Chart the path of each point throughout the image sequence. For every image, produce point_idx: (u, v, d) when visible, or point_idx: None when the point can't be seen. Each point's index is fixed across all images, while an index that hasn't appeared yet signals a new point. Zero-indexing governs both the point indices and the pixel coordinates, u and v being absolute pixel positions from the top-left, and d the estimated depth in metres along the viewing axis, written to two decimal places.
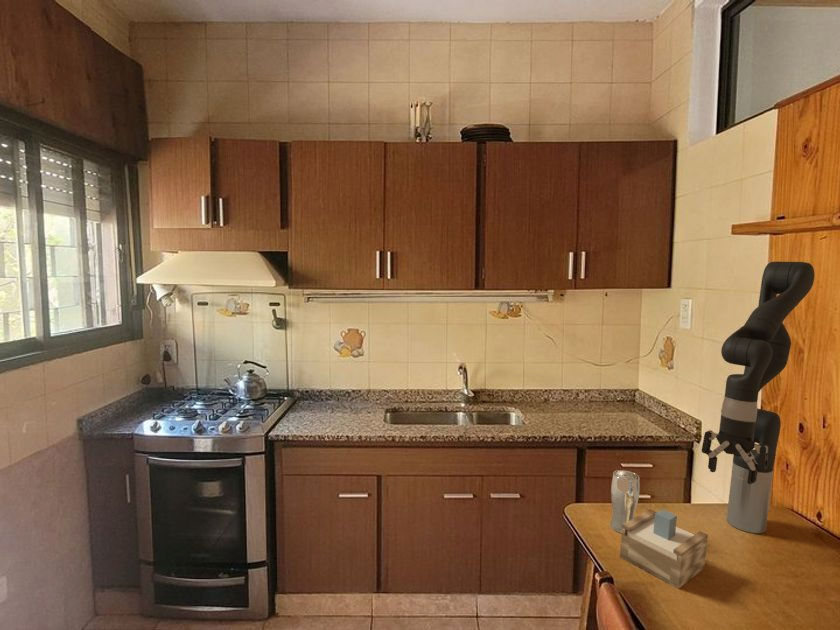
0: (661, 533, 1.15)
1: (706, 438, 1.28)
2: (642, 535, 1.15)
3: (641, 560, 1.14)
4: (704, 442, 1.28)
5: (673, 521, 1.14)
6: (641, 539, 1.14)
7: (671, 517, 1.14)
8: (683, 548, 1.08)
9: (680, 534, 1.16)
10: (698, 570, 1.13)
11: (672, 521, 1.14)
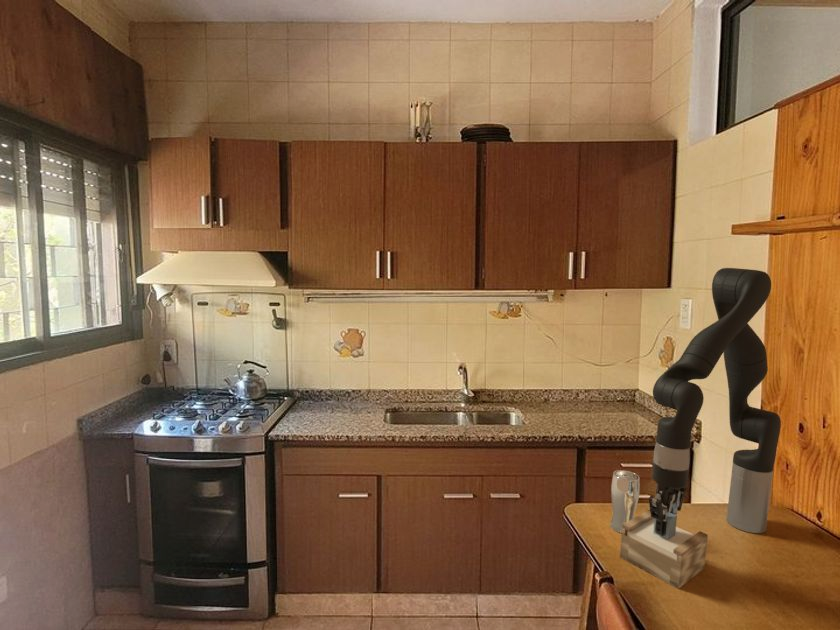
0: None
1: (661, 507, 1.11)
2: (642, 535, 1.15)
3: (641, 560, 1.14)
4: (661, 512, 1.11)
5: (673, 521, 1.14)
6: (641, 539, 1.14)
7: (671, 517, 1.14)
8: (683, 548, 1.08)
9: (680, 534, 1.16)
10: (698, 570, 1.13)
11: (673, 521, 1.14)
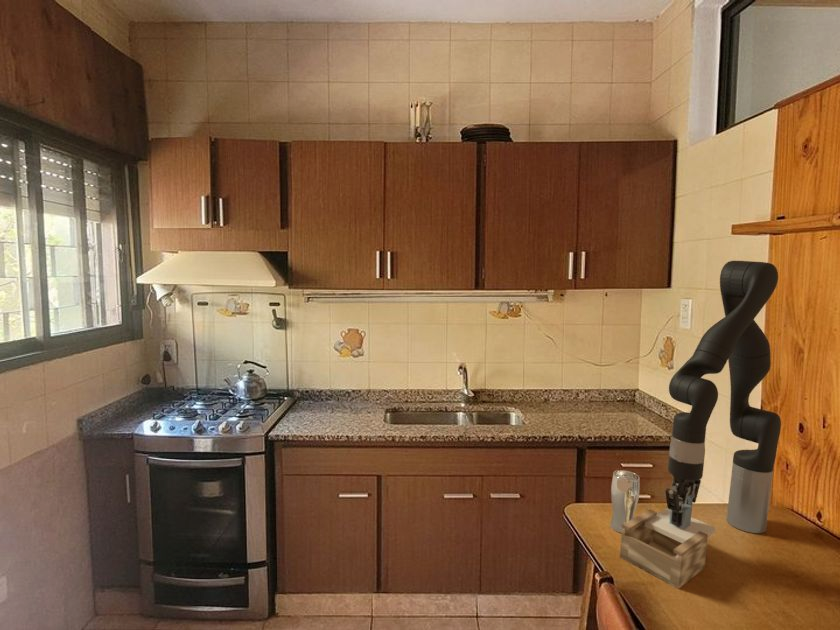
0: None
1: (677, 498, 1.15)
2: (659, 525, 1.20)
3: (641, 560, 1.14)
4: (677, 503, 1.16)
5: (688, 512, 1.19)
6: (658, 529, 1.19)
7: (687, 507, 1.19)
8: (683, 548, 1.08)
9: (695, 524, 1.21)
10: (698, 570, 1.13)
11: (688, 511, 1.19)
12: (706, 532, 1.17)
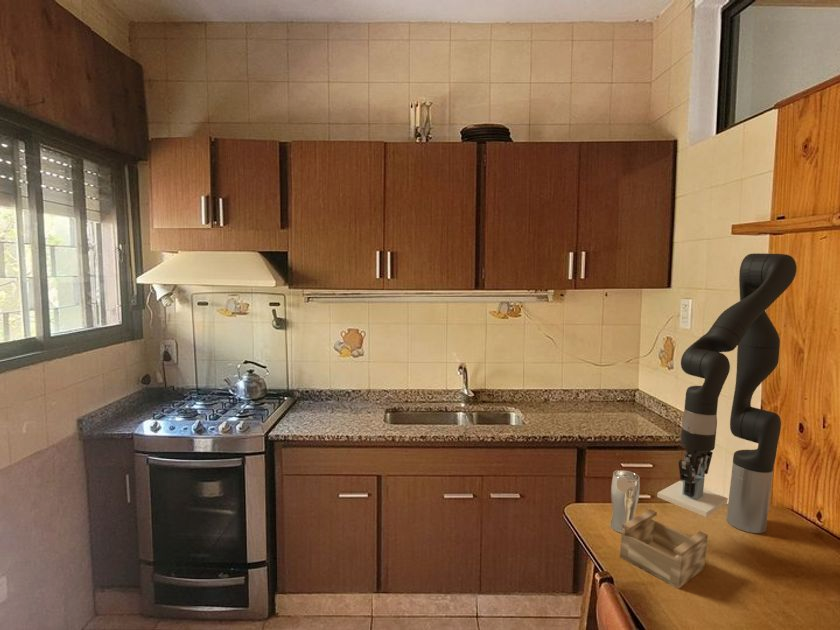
0: None
1: (690, 469, 1.18)
2: (672, 496, 1.23)
3: (641, 560, 1.14)
4: (690, 473, 1.18)
5: (701, 483, 1.22)
6: (671, 499, 1.22)
7: (699, 478, 1.22)
8: (683, 548, 1.08)
9: (707, 495, 1.24)
10: (698, 570, 1.13)
11: (700, 482, 1.22)
12: (718, 502, 1.20)
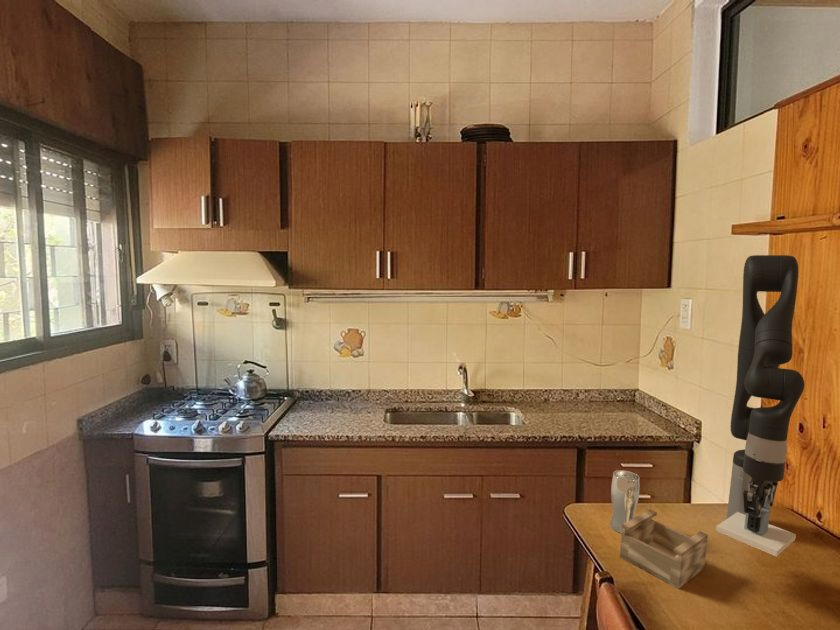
0: None
1: (757, 501, 1.05)
2: (733, 530, 1.10)
3: (641, 560, 1.14)
4: (757, 506, 1.05)
5: (767, 516, 1.09)
6: (733, 535, 1.09)
7: (765, 511, 1.09)
8: (683, 548, 1.08)
9: (773, 530, 1.10)
10: (698, 570, 1.13)
11: (766, 516, 1.08)
12: (787, 539, 1.07)
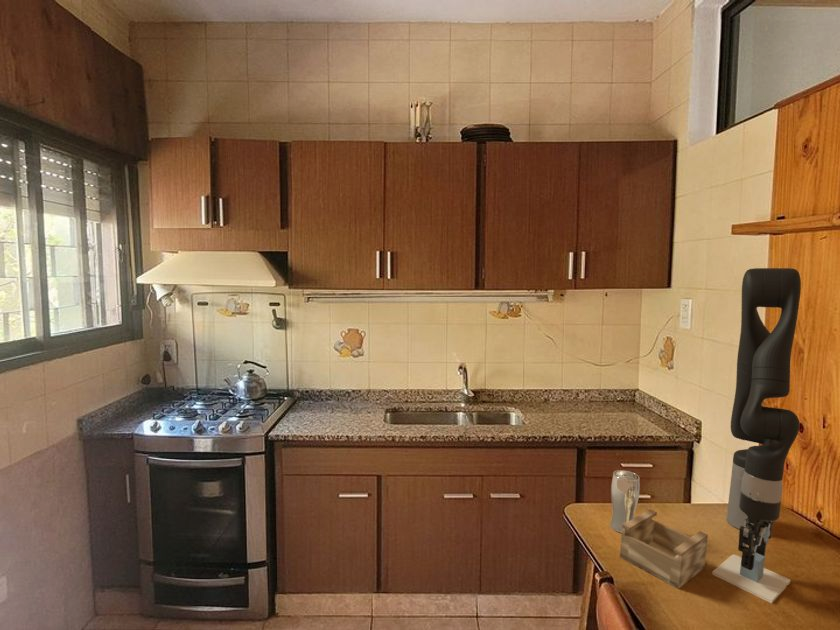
0: (749, 575, 1.10)
1: (752, 538, 1.06)
2: (729, 577, 1.11)
3: (641, 560, 1.14)
4: (752, 544, 1.06)
5: (762, 563, 1.10)
6: (729, 581, 1.10)
7: (760, 558, 1.10)
8: (683, 548, 1.08)
9: (768, 576, 1.12)
10: (698, 570, 1.13)
11: (761, 562, 1.10)
12: (782, 586, 1.08)
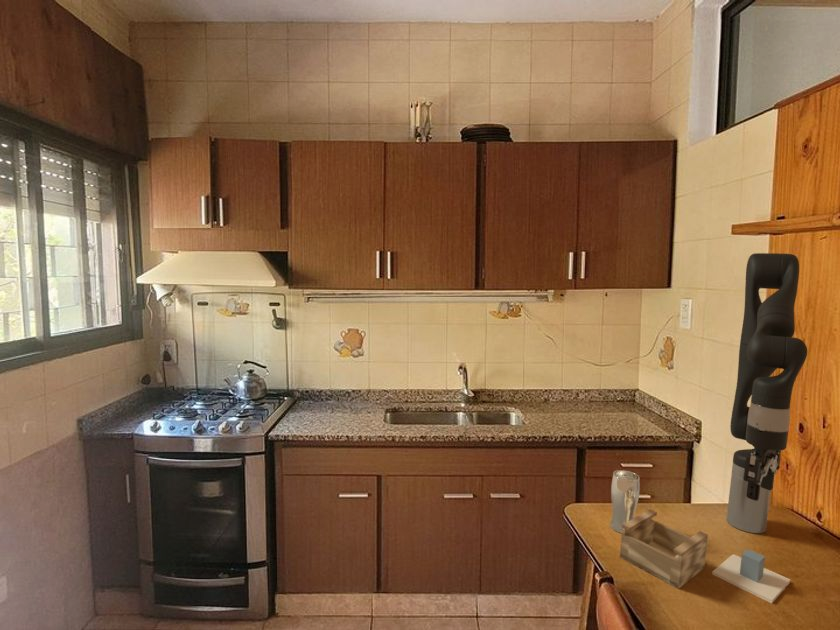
0: (749, 575, 1.10)
1: (759, 466, 1.04)
2: (729, 577, 1.11)
3: (641, 560, 1.14)
4: (758, 471, 1.04)
5: (762, 563, 1.10)
6: (729, 581, 1.10)
7: (760, 558, 1.10)
8: (683, 548, 1.08)
9: (768, 576, 1.12)
10: (698, 570, 1.13)
11: (761, 562, 1.10)
12: (782, 586, 1.08)
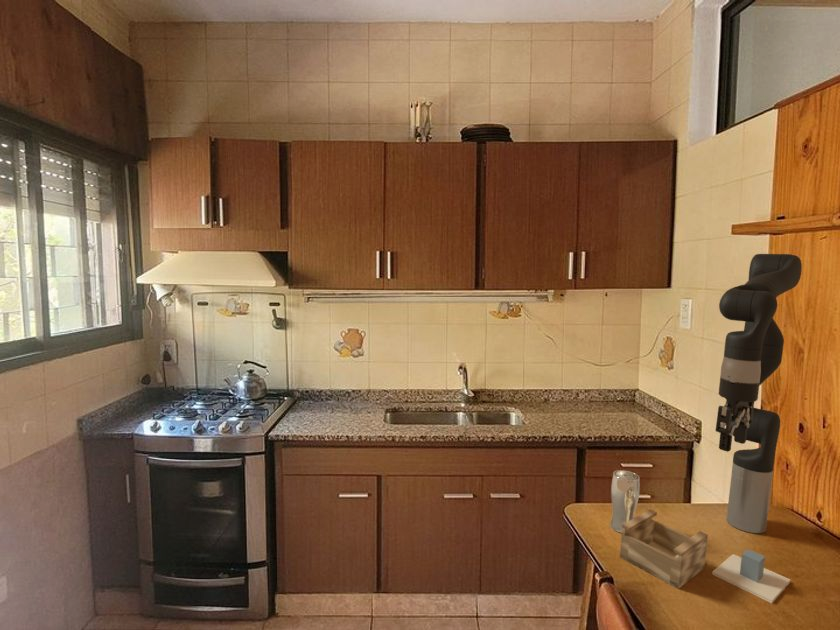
0: (749, 575, 1.10)
1: (730, 416, 1.06)
2: (729, 577, 1.11)
3: (641, 560, 1.14)
4: (729, 422, 1.06)
5: (762, 563, 1.10)
6: (729, 581, 1.10)
7: (760, 558, 1.10)
8: (683, 548, 1.08)
9: (768, 576, 1.12)
10: (698, 570, 1.13)
11: (761, 562, 1.10)
12: (782, 586, 1.08)
